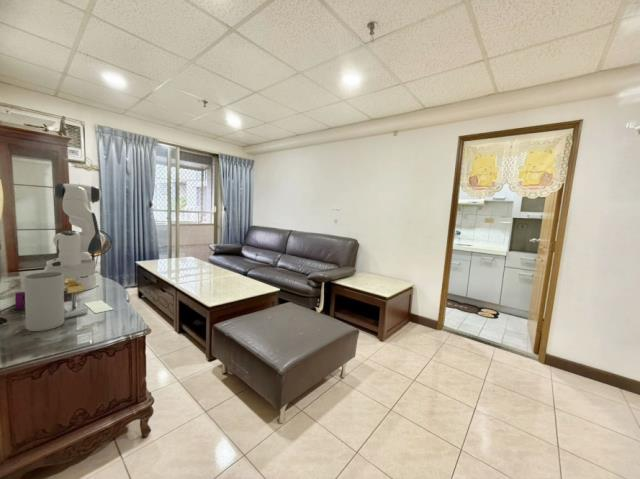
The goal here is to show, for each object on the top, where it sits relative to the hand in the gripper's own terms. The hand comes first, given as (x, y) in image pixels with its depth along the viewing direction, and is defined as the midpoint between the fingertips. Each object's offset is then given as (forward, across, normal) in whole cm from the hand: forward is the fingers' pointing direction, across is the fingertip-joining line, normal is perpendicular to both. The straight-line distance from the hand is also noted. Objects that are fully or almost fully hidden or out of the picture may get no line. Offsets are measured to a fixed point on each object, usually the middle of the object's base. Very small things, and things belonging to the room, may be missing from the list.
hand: (70, 285), depth 139 cm
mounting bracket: (+15, +12, -24) cm, 30 cm away
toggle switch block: (+14, 0, +1) cm, 14 cm away
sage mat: (+14, -11, +3) cm, 18 cm away
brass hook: (+1, 0, +1) cm, 2 cm away
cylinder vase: (+14, +12, +15) cm, 24 cm away
